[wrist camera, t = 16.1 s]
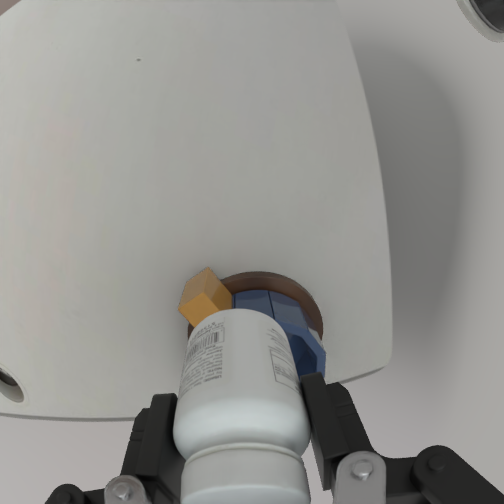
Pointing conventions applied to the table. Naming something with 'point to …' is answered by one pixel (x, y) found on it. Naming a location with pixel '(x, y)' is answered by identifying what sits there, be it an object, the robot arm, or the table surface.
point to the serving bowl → (267, 302)
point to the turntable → (276, 285)
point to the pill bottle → (241, 414)
